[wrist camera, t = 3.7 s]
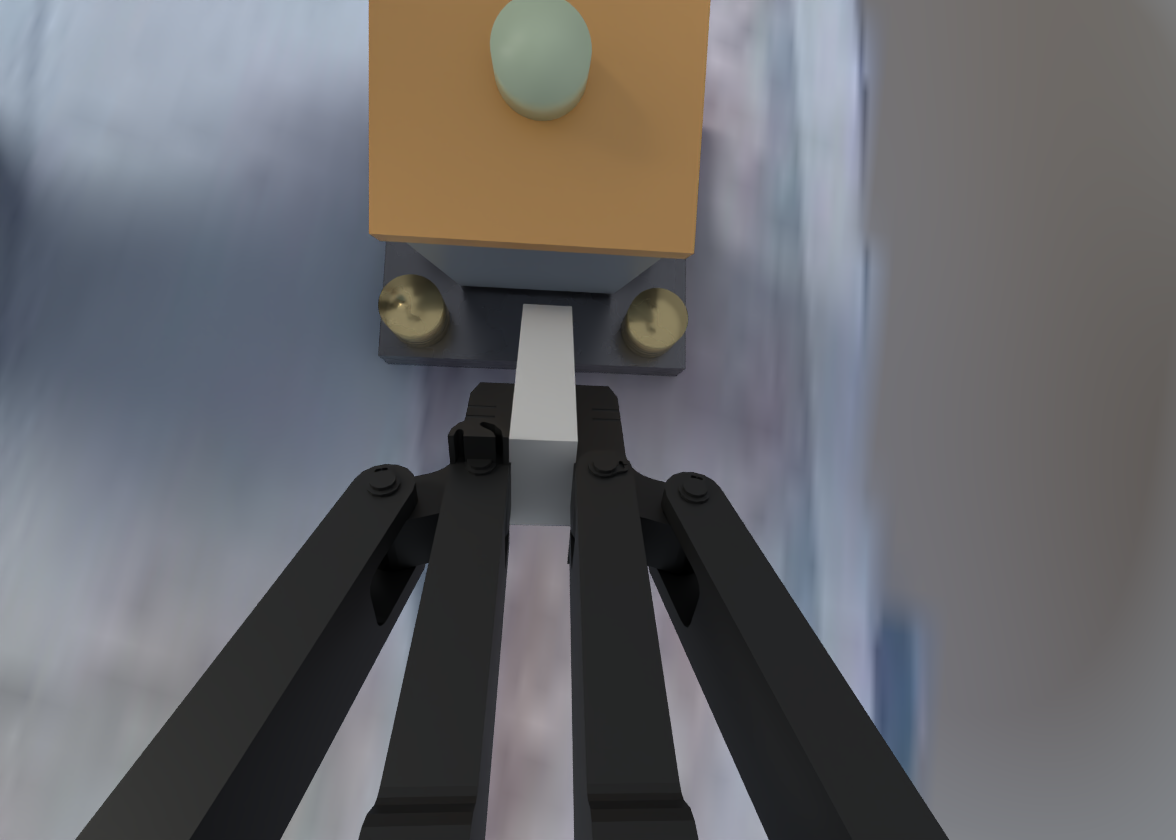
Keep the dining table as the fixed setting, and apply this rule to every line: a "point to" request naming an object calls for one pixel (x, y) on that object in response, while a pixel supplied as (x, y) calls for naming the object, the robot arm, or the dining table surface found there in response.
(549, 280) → the box
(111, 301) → the dining table surface
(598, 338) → the leveling base
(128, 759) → the dining table surface
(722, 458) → the dining table surface
